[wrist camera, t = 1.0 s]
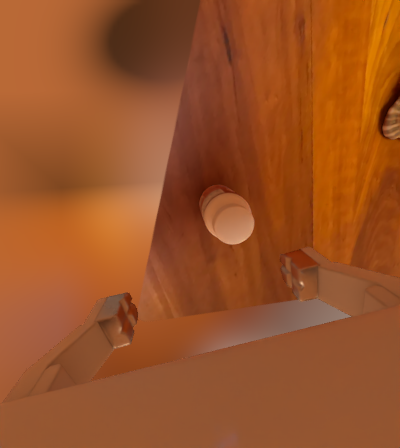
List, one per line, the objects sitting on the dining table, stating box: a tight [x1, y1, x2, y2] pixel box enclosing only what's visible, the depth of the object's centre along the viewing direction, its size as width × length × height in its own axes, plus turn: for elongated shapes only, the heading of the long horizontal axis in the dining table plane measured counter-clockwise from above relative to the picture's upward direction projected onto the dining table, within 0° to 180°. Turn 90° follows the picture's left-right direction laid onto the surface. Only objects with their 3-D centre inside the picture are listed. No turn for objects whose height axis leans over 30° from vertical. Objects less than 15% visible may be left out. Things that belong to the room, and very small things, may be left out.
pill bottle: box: [199, 185, 254, 244], centre depth 26 cm, size 6×6×11 cm
